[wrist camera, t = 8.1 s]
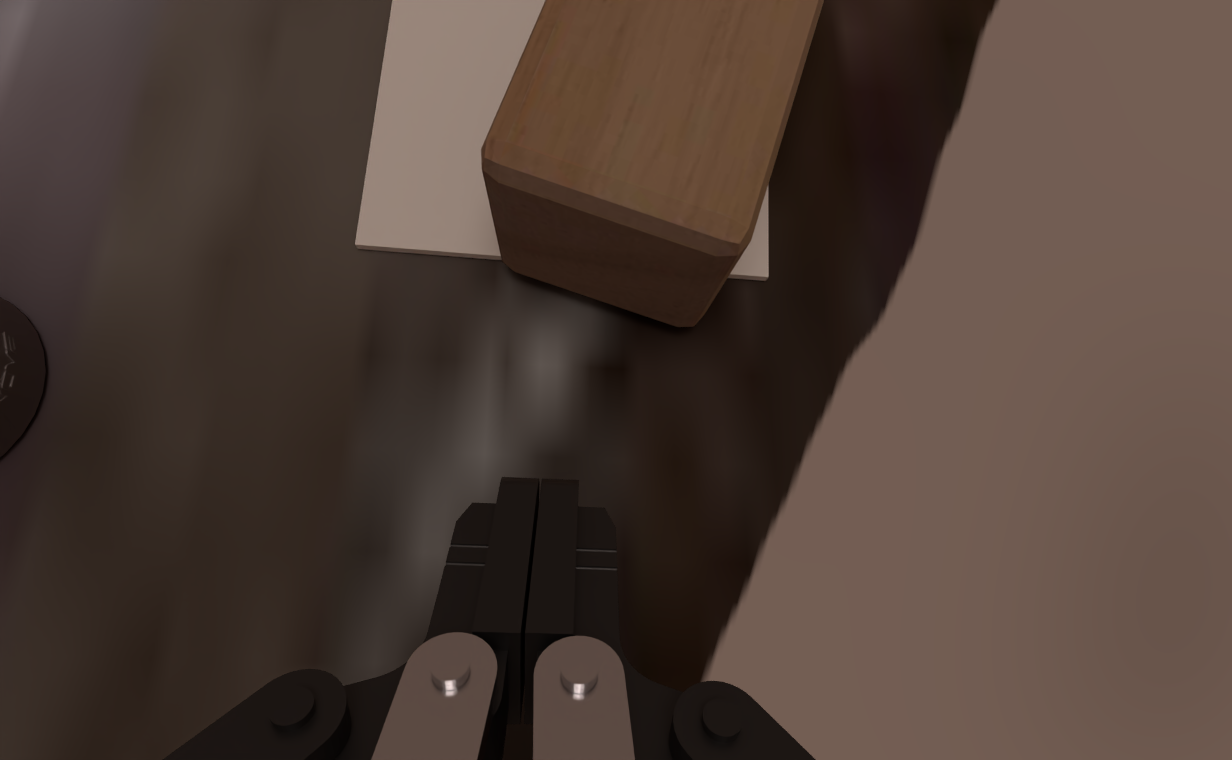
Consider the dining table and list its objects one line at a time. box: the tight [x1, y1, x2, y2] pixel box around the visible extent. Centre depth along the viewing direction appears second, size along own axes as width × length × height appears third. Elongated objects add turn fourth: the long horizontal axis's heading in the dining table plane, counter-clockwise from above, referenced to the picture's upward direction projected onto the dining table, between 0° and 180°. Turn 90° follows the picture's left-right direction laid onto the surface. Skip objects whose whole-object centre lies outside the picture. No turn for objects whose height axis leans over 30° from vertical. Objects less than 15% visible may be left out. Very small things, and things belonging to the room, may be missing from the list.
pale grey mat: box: [355, 0, 768, 281], centre depth 35 cm, size 20×19×1 cm
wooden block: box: [481, 0, 824, 327], centre depth 29 cm, size 10×10×20 cm
